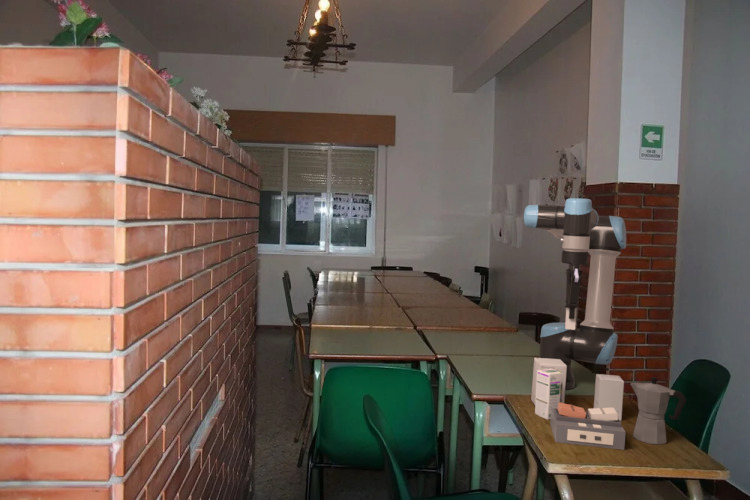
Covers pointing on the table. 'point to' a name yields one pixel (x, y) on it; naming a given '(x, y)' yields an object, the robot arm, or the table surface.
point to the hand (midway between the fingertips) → (570, 328)
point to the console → (587, 431)
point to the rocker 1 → (571, 410)
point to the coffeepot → (654, 411)
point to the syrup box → (548, 391)
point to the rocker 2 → (603, 414)
